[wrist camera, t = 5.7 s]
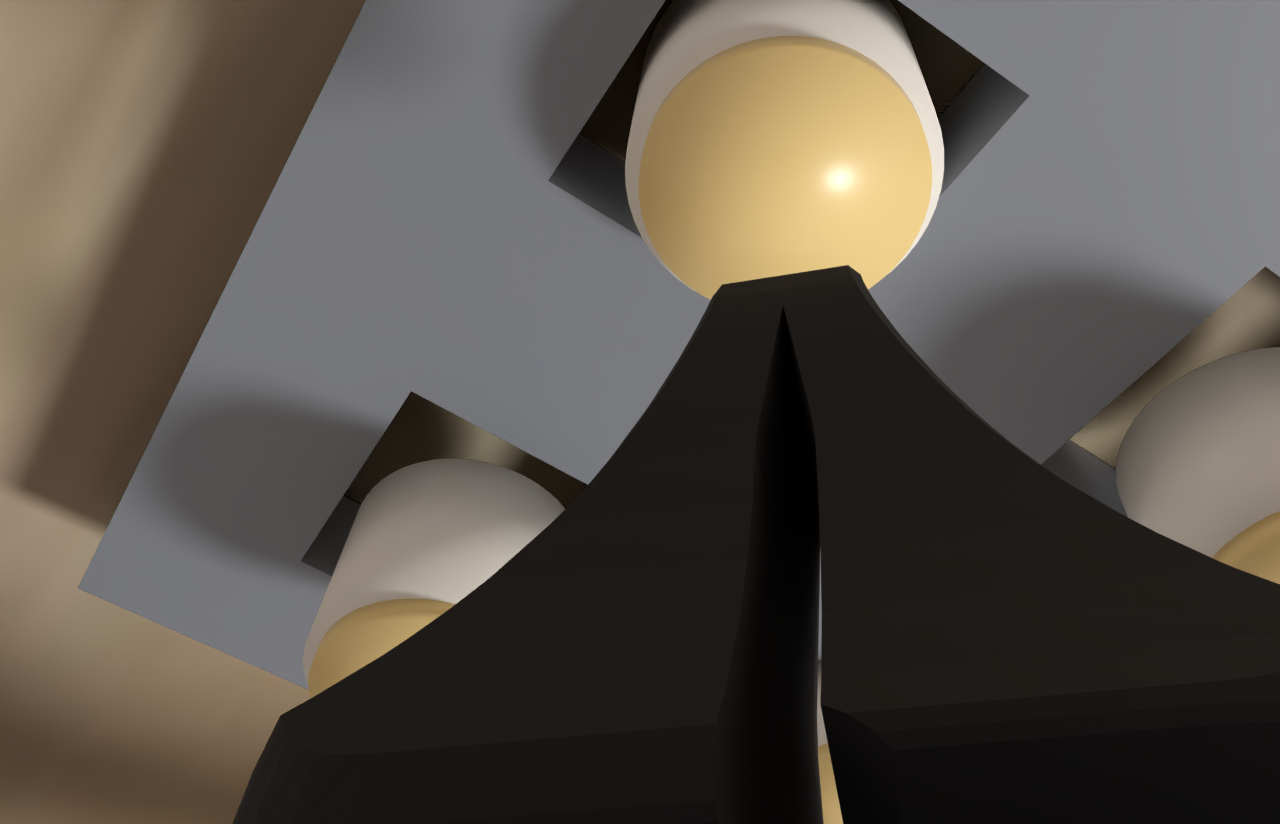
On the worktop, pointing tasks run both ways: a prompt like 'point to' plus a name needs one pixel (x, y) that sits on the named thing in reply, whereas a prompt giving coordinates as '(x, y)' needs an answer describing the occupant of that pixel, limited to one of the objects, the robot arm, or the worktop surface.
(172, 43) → the worktop surface
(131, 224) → the worktop surface
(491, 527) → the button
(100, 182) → the worktop surface
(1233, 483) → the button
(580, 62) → the button board
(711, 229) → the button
